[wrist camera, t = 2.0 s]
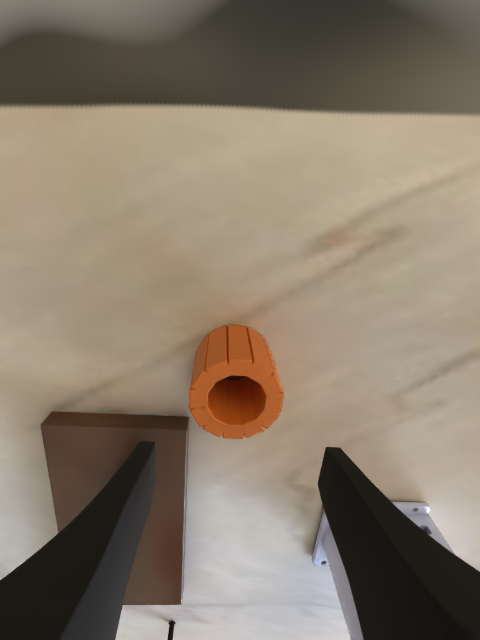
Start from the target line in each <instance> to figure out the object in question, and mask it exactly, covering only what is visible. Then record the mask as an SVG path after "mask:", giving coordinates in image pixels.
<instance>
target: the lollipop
mask: <svg viewBox="0 0 480 640" xmlns="http://www.w3.org/2000/svg"><path fill="white" fill-rule="evenodd" d="M174 624H175V622H174V621H171V622H169V625H170V626H169V633H168V640H173V631H174Z"/></svg>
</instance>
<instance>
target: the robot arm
mask: <svg viewBox="0 0 480 640" xmlns="http://www.w3.org/2000/svg"><path fill="white" fill-rule="evenodd" d="M155 482H156V449H155V442H152V441H140V442H139V443H138V444H137V445H136V446H135V448H134V449H133V451H132V452H131V454H130V455H129V456H128V458H127V459H126V460H125V462H124V463H123V464H122V466H121V467H120V468H119V469H118V471H117V472H116V473H115V474H114V475H113V477H112V478H111V479H110V480H109V482H108V483H107V484H106V485H105V486H104V487H103V489H102V490H101V491H100V492H99V493H98V494H97V495H96V496H95V497H94V499H93V500H92V501H91V502H90V503H89V504H88V505H87V506H86V507H85V508H84V509H83V510H82V511H81V512H80V513H79V514H78V515H77V516H76V517H75V518H74V519H73V520H72V521H71V522H70V523H69V524H68V525H67V526H66V527H65V528H64V529H62V530H61V531H60V532H59V533H58V534H57V535H56V536H55V537H54V538H52V539H51V540H50V541H49V542H48V543H47V544H46V545H44V546H43V547H42V548H41V549H40V550H39V551H37V552H36V553H35V554H34V555H32V556H31V557H30V558H29V559H27V560H26V561H25V562H24V563H22V564H21V565H20V566H18V567H17V568H16V569H15V570H13V571H12V572H11V573H10V574H8V575H7V576H6V577H4V578H3V579H2V580H0V640H115V638H116V633H117V628H118V624H119V619H120V614H121V610H122V605H123V601H124V597H125V592H126V588H127V583H128V579H129V576H130V572H131V568H132V565H133V562H134V559H135V555H136V552H137V549H138V546H139V542H140V539H141V536H142V533H143V529H144V526H145V523H146V520H147V516H148V513H149V510H150V506H151V502H152V497H153V492H154V487H155ZM318 487H319V491H320V496H321V500H322V504H323V509H324V512H323V516H322V520H321V524H320V528H319V532H318V536H317V540H316V545H315V549H314V553H313V557H312V562H313V564H314V565H315V566H330V569H331V573H332V576H333V580H334V583H335V587H336V590H337V593H338V597H339V600H340V604H341V607H342V610H343V614H344V617H345V621H346V624H347V628H348V631H349V634H350V638H351V640H480V572H479V571H478V570H476V569H475V568H473V567H472V566H470V565H469V564H467V563H466V562H464V561H463V560H462V559H460V558H459V557H457V556H456V555H455V553H454V552H453V550H452V549H451V547H450V546H449V544H448V543H447V541H446V540H445V538H444V537H443V535H442V534H441V532H440V531H439V529H438V528H437V526H436V525H435V523H434V522H433V520H432V519H431V517H430V516H429V513H430V511H431V507H430V505H429V504H428V503H425V502H391V501H390V500H389V499H388V498H387V497H386V496H385V495H384V494H383V493H382V492H381V491H380V490H379V489H378V488H377V487H376V486H375V485H374V484H373V483H372V482H371V481H370V480H369V479H368V478H367V477H366V476H365V475H364V474H363V472H362V471H361V470H360V469H359V468H358V467H357V466H356V465H355V464H354V463H353V461H352V460H351V459H350V458H349V457H348V456H347V455H346V454H345V453H344V452H343V451H342V449H341V448H337V447H326V449H325V453H324V458H323V462H322V467H321V471H320V476H319V480H318Z"/></svg>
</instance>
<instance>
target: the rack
mask: <svg viewBox="0 0 480 640" xmlns="http://www.w3.org/2000/svg"><path fill="white" fill-rule="evenodd" d="M41 431H42V437H43V442H44V448H45V454H46V460H47V466H48V472H49V478H50V484H51V490H52V496H53V502H54V508H55V514H56V520H57V526H58V532H60V531H61V530H62V529H64V528H65V527H66V526H67V525H68V524H69V523H70V522H71V521H72V520H73V519H74V518H75V517H76V516H77V515H78V514H79V513H80V512H81V511H82V510H83V509H84V508H85V507H86V506H87V505H88V504H89V503H90V502H91V501H92V500H93V499H94V497H95V496H96V495H97V494H98V493H99V492H100V491H101V490H102V489H103V487H104V486H105V485H106V484H107V483H108V482H109V480H110V479H111V478H112V477H113V475H114V474H115V473H116V472H117V471H118V469H119V468H120V467H121V466H122V464H123V463H124V462H125V460H126V459H127V458H128V456H129V455H130V454H131V452H132V451H133V449H134V448H135V446H136V445H137V444H138V443H139V442H140V441H152V442H155V449H156V482H155V487H154V492H153V497H152V502H151V506H150V510H149V513H148V516H147V520H146V523H145V526H144V529H143V533H142V536H141V539H140V542H139V546H138V549H137V552H136V555H135V559H134V562H133V565H132V568H131V572H130V576H129V579H128V583H127V588H126V592H125V597H124V601H123V605H181V604H182V597H183V588H184V560H185V530H186V499H187V469H188V438H189V417H176V416H150V415H124V414H99V413H73V412H51V413H50V414H49V416H48V417H47V418H46V419H45V420H44V421H43V423H42V424H41Z"/></svg>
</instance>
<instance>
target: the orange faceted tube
mask: <svg viewBox="0 0 480 640" xmlns="http://www.w3.org/2000/svg"><path fill="white" fill-rule="evenodd" d="M231 375H233V376H247V377H244V378H242V379H240V380H227V379H225V378H226V377H228V376H231ZM283 397H284V393H283V388H282V385H281V382H280V379H279V375H278V372H277V369H276V366H275V363H274V360H273V357H272V354H271V351H270V349H269V347H268V345H267V343H266V341H265V339H264V338H263V336H262V335H260V334H259V333H257V332H255V331H254V330H252V329H251V328H249V327H248V328H247V329H246V326H234V325H228V329H227V327H226V326H223V327H221V328H219V329H217V330H215V331H213V332H210V334H209V335H207V336H206V337H205V339H204V340H203V342H202V343H201V344H200V346H199V347H198V350H197V355H196V360H195V365H194V370H193V376H192V381H191V386H190V397H189V408H190V412H191V413H192V415H193V416H194V418H195V420H196V421H197V423H198V424H199V426H200V427H201V426H203V429H204V430H206V431H208V432H210V433H212V434H214V435H216V436H218V437H221V436H222V434H223V438H229V439H243V438H244V435H245V437H246V438H248V437H251V436H253V435H256V434H258V433H260V432H263V431H264V430H265V428H266V429H268V428H269V427H270V425H271V424H272V423H273V422H274V421H275V420H276V419H277V417H278V416H279V415H280V414H279V412H281V410H282V404H283Z"/></svg>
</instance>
